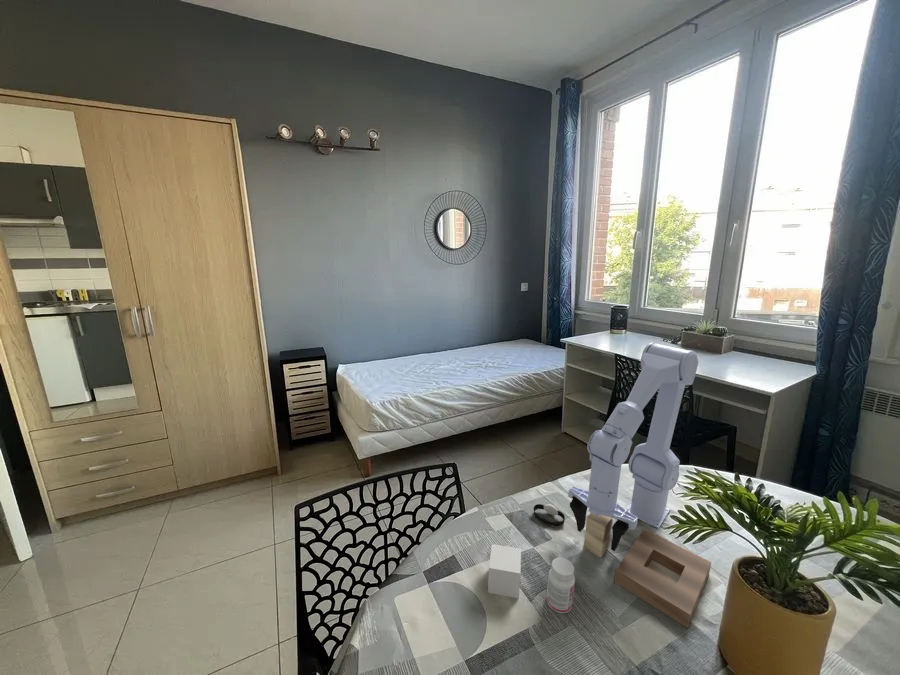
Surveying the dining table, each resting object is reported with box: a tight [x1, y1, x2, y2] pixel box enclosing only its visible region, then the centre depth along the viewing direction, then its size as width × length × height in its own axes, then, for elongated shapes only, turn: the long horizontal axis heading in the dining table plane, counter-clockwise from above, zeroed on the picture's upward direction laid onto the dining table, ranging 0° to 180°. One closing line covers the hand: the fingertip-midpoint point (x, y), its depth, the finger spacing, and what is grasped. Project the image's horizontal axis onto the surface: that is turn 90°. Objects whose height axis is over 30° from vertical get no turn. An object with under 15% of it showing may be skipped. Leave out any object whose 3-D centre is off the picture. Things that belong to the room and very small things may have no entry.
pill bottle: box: [545, 557, 576, 614], centre depth 70 cm, size 5×5×8 cm
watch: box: [533, 503, 566, 527], centre depth 92 cm, size 8×5×4 cm, turn 58°
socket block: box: [613, 528, 712, 629], centre depth 76 cm, size 16×13×3 cm
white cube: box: [487, 543, 522, 599], centre depth 74 cm, size 6×6×6 cm
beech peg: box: [583, 512, 614, 558], centre depth 83 cm, size 4×4×8 cm
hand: (597, 538), depth 83 cm, fingers open, 7 cm apart
